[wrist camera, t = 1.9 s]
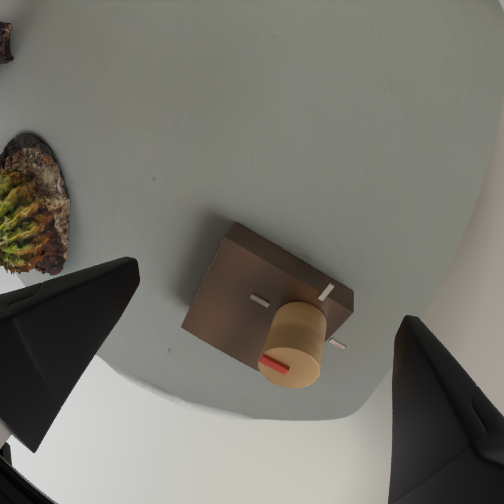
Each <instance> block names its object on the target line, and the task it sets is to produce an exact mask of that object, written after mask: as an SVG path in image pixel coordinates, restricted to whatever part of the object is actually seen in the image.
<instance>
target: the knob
mask: <svg viewBox="0 0 504 504" xmlns="http://www.w3.org/2000/svg"><path fill="white" fill-rule="evenodd" d="M326 328H327V322H326V318H325V316H324V314H323V313H322V312H321V311H320V310H319V309H318V308H317V307H315V306H313V305H311V304H308V303H305V302H291V303H288V304H285V305H283V306H282V307H280V308H279V309H278V310H277V312H276V313H275V316H274V319H273V321H272V324H271V327H270V330H269V333H268V335H267V338H266V341H265V344H264V346H263V349H262V352H261V354H260V357H259V360H258V367H259V370H260V372H261V373H262V375H263V376H264V377H265V378H266V379H267V380H269V381H270V382H272V383H274V384H276V385H278V386H282V387H286V388H302V387H306V386H308V385H310V384H312V383H313V382H315V381H316V380H317V378H318V376H319V374H320V368H321V362H322V356H323V349H324V342H325V335H326Z"/></svg>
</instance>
